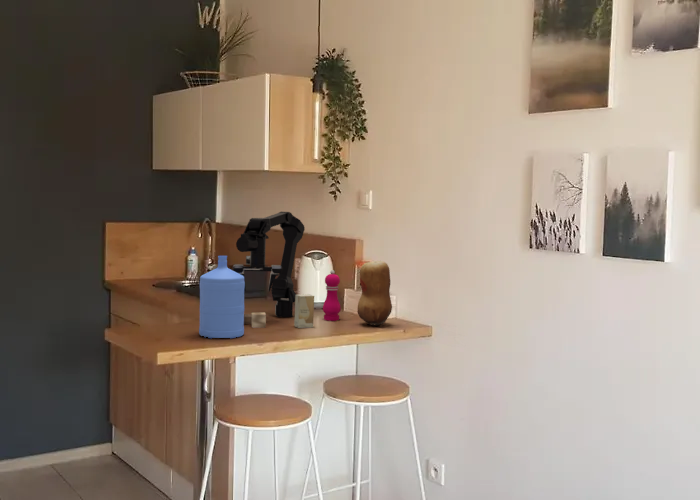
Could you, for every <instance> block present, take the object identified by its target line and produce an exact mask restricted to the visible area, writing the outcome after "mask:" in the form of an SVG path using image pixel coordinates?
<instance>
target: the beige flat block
mask: <svg viewBox="0 0 700 500" xmlns="http://www.w3.org/2000/svg"><path fill="white" fill-rule="evenodd" d="M244 325H252V313H250V314H249V313H244Z"/></svg>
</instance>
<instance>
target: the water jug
mask: <svg viewBox="0 0 700 500" xmlns="http://www.w3.org/2000/svg"><path fill="white" fill-rule="evenodd" d="M227 259H228V255H218V256H217V267H216V268H214V269H212V270H210V271H208V272H206V273H204V274H202V275H201V276H200V277H199V328H198V334H199V336H201V337H202V336H204V337H203V338H206V337H208V338H207V339H212V338H230V339H235V338H236V337H237V338H240V337H242V336H243V335H244V334H245V326H244V325H245V324H244V314H245V291H244V288H245V286H246V280H245V281H244V277H245V275H244V276H242V275H240V274H239V273H237V272H235V271H233V269H230V267H229V268H228V260H227Z"/></svg>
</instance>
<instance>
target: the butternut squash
mask: <svg viewBox="0 0 700 500" xmlns="http://www.w3.org/2000/svg"><path fill="white" fill-rule="evenodd" d="M390 270H391V269H390V266H389V264H388V263H387V262H385V261H383V260H377V261H371V262H370V261H369V262H365V263H363V265H362V266H361V267H360V273H359V283H360V289H361V295H360V298H359V300H358V303H357V311H356V312H357V315H358V316H359V318H360V319H361V320H362V321H363V322H365V323H366V324H368V325H370V326H380V324H381V325H382V324H385V323H386V321H387V320H388V318H389V317H390V315H391V313H392V311H393V304H392V299H391V295H390V293H391V292H390V289H391V275H390V274H391V273H390V272H391V271H390Z"/></svg>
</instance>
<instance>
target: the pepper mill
mask: <svg viewBox="0 0 700 500" xmlns="http://www.w3.org/2000/svg"><path fill="white" fill-rule="evenodd" d="M340 282H341V279H340V277H339V275H337V274H336V273H335V270H333V269H332V270H330V272H329V274H327V275H326V276H325V278H324V284H325V285H326V286H325V290H326V298H325V300H324V302H323V305H322V312H323V313H324V315H323V320H324V321H328V322H337V320H338V321H340V312H341V309H342V308H341V304H340V301H339V298H338V290H339V286H338V285H339V284H340Z"/></svg>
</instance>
